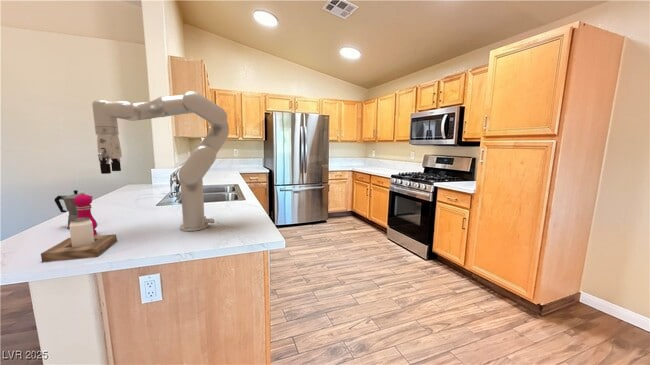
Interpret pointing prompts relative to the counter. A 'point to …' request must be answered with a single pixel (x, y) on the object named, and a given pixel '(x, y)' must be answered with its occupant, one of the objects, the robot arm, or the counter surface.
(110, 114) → the robot arm
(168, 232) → the counter surface
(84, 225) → the can
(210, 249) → the counter surface
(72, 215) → the coffeepot
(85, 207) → the pepper mill
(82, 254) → the socket board
